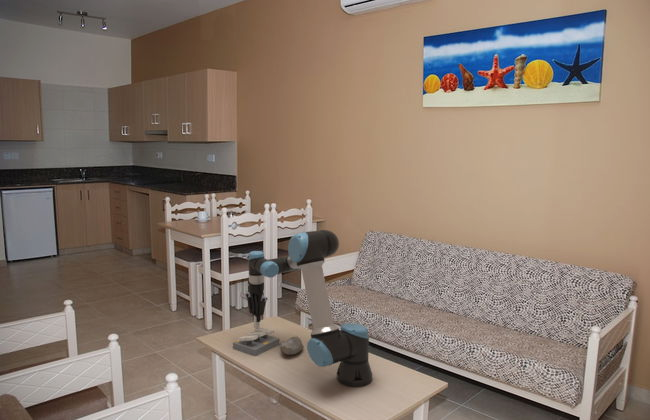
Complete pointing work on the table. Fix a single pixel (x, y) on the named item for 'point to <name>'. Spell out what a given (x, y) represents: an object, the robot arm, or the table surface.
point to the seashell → (291, 346)
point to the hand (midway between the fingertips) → (256, 327)
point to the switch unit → (256, 345)
